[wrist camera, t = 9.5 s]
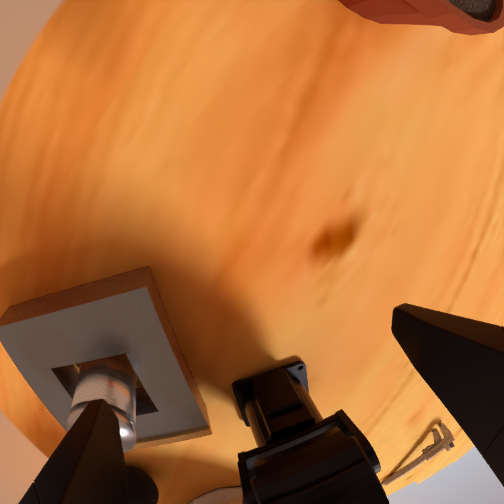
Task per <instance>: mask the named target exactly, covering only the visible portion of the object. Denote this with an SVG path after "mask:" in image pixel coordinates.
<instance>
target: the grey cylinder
mask: <svg viewBox="0 0 504 504" xmlns="http://www.w3.org/2000/svg"><path fill="white" fill-rule="evenodd" d="M136 384H137V374H136V373H135V371H134V369H133V367H132V365H131V363H130V362H129V360H128V358H127V356H126V354H125V353H123V354H119V355H114V356H110V357H105V358H101V359H96V360H91V361H87V362H82V365H81V369H80V373H79V377H78V381H77V385H76V389H75V393H74V397H73V402H72V406H71V409H70V412H69V416H68V421H67V430H68V431H69V430H70V428H71V427H72V425H73V424H74V423H75V421H76V420H77V418H78V417H79V416H80V414H81V413H82V411H83V410H84V409H85V407H86V406H87V405H88V403H89V402H90V401H91V400H95V399H104V400H105V401H106V402H107V403H108V405H109V406H110V407H111V409H112V410H113V411H114V413H115V414H116V416H117V418H118V420H119V426H120V433H121V440H122V447H123V453H124V452H127V451H129V450H131V449H132V448H133V447H134V446H135V444H136V424H135V421H136Z"/></svg>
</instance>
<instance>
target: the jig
mask: <svg viewBox="0 0 504 504" xmlns="http://www.w3.org/2000/svg"><path fill="white" fill-rule="evenodd" d="M0 341H1V343H2V345H3V346H4V348H5V350H6V351H7V353H8V354H9V356H10V357H11V359H12V361H13V362H14V364H15V365H16V367H17V368H18V370H19V371H20V373H21V374H22V375H23V377H24V378H25V380H26V381H27V382H28V384H29V385H30V387H31V388H32V389H33V391H34V392H35V393H36V395H37V396H38V397H39V399H40V400H41V401H42V402H43V404H44V405H45V406H46V407H47V409H48V410H49V411H50V412H51V413H52V415H53V416H54V417H55V418H56V419H57V421H58V422H59V423H60V424H61V425H62V426H63V427H64V429H65V430H66V431H67V432H68V430H67V421H68V416H69V412H70V409H71V406H72V402H73V397H74V393H75V389H76V385H77V381H78V377H79V373H78V371H77V370H76V368H75V367H74V365H73V364H77V363H82V362H87V361H91V360H96V359H101V358H105V357H110V356H114V355H119V354H123V353H125V354H126V356H127V358H128V360H129V362H130V363H131V365H132V367H133V369H134V371H135V373H136V374H137V376H138V378H139V380H140V381H141V383H142V385H143V386H144V388H140V389H136V421H135V424H136V444H135V446H134V447H133V448H132V449H131V450H133V449H140V448H146V447H152V446H158V445H164V444H169V443H174V442H179V441H184V440H189V439H193V438H198V437H202V436H206V435H210V434H212V431H211V426H210V422H209V417H208V413H207V408H206V405H205V403H204V401H203V398H202V396H201V394H200V392H199V390H198V388H197V386H196V383H195V381H194V379H193V377H192V374H191V372H190V370H189V368H188V365H187V363H186V361H185V358H184V356H183V354H182V351H181V349H180V347H179V344H178V342H177V339H176V337H175V334H174V332H173V329H172V327H171V324H170V322H169V319H168V317H167V314H166V312H165V309H164V306H163V304H162V301H161V298H160V296H159V293H158V290H157V287H156V284H155V282H154V279H153V276H152V273H151V270H150V267H149V266H147V267H144V268H140V269H137V270H133V271H130V272H126V273H123V274H119V275H116V276H112V277H109V278H105V279H102V280H98V281H95V282H91V283H88V284H84V285H81V286H77V287H74V288H71V289H67V290H64V291H60V292H57V293H54V294H50V295H47V296H44V297H40V298H37V299H33V300H30V301H27V302H23V303H20V304H17V305H13V306H10V307H8V309H7V310H6V311H5V313H4V314H3V315H2V317H1V318H0Z"/></svg>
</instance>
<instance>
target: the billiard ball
mask: <svg viewBox="0 0 504 504" xmlns="http://www.w3.org/2000/svg"><path fill="white" fill-rule="evenodd" d="M126 478H127V490H128V501H129V504H157V502H158V497H159V493H158V489H157V486H156V484H155V482H154V481H153V479H152V478H151V477H150V476H149V475H148V474H146V473H145V472H143V471H142V470H139V469H136V468H132V467H126Z"/></svg>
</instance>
